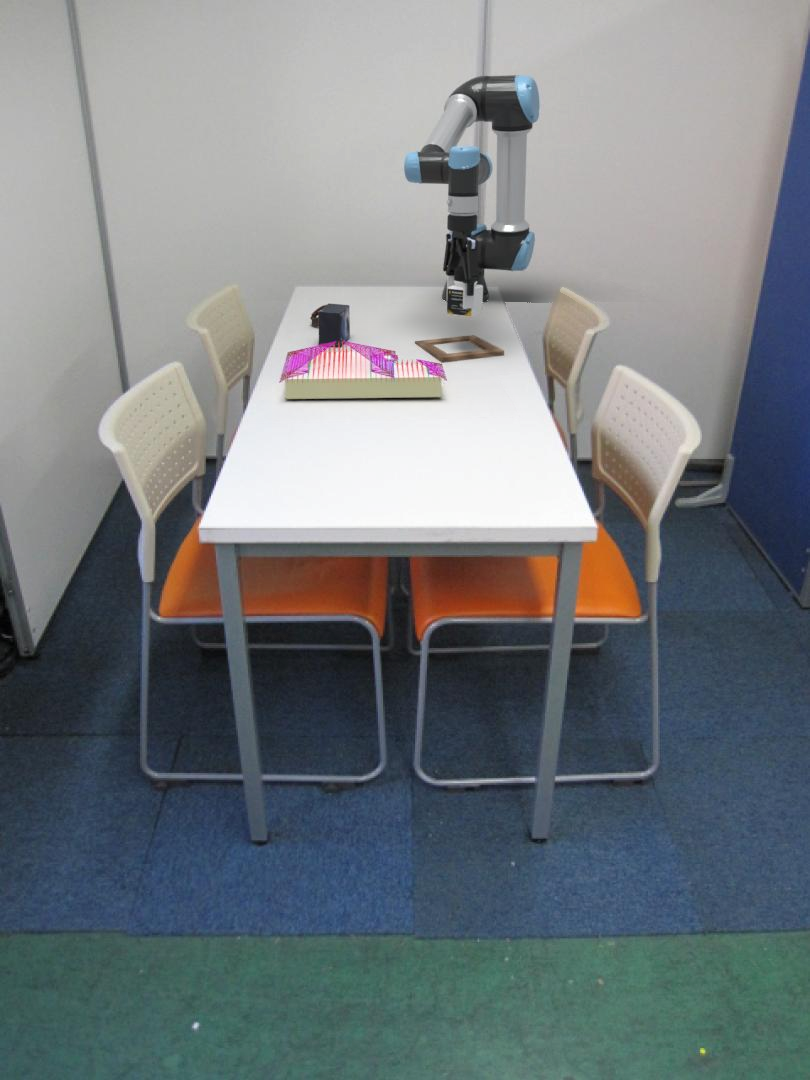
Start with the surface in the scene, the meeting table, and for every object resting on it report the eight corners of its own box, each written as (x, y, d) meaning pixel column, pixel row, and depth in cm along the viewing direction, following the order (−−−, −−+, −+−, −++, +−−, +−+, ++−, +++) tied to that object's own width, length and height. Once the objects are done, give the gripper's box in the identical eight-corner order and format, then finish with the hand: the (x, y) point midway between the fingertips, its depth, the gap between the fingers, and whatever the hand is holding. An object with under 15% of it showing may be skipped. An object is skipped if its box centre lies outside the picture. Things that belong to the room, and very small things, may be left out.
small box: (341, 351, 235) (340, 312, 230) (318, 350, 236) (316, 311, 231) (351, 341, 244) (350, 303, 239) (329, 340, 245) (327, 302, 241)
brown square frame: (473, 340, 246) (473, 335, 245) (503, 356, 231) (504, 350, 230) (414, 346, 239) (414, 341, 239) (441, 363, 225) (441, 357, 224)
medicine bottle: (446, 314, 230) (447, 267, 224) (458, 309, 235) (459, 263, 230) (471, 317, 227) (472, 270, 221) (482, 312, 232) (484, 265, 227)
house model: (437, 367, 223) (438, 327, 218) (446, 398, 200) (447, 354, 196) (288, 369, 221) (286, 328, 217) (280, 400, 199) (277, 356, 194)
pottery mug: (348, 334, 252) (334, 310, 247) (320, 348, 254) (305, 325, 249) (349, 316, 261) (335, 293, 256) (321, 329, 263) (307, 307, 259)
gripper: (431, 209, 227) (429, 297, 237) (468, 219, 209) (465, 314, 219) (457, 208, 229) (454, 295, 240) (496, 218, 211) (491, 311, 221)
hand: (459, 304), depth 229 cm, fingers closed on medicine bottle, 9 cm apart
